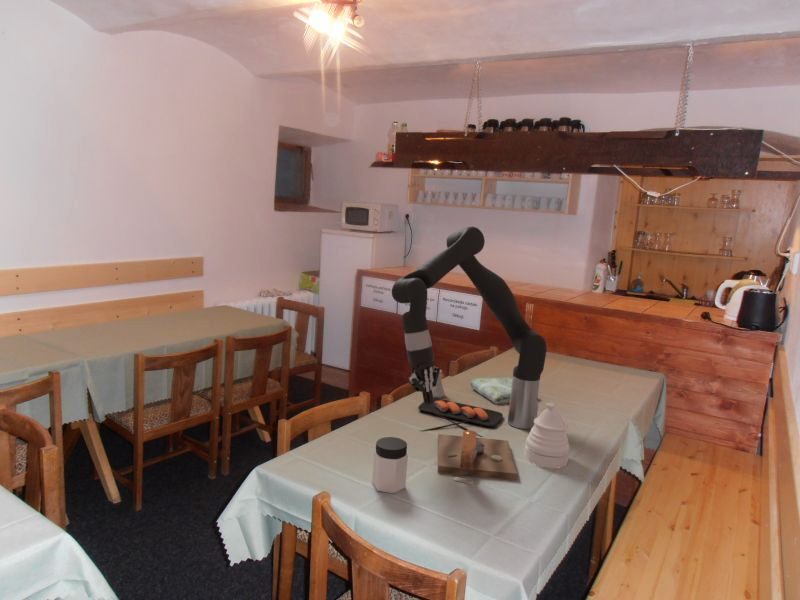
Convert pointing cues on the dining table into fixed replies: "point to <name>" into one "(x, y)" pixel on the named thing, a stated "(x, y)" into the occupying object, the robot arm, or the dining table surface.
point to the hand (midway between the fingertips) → (429, 403)
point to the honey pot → (548, 440)
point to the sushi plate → (461, 413)
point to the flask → (438, 388)
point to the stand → (486, 465)
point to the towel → (494, 388)
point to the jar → (390, 464)
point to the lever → (470, 450)
